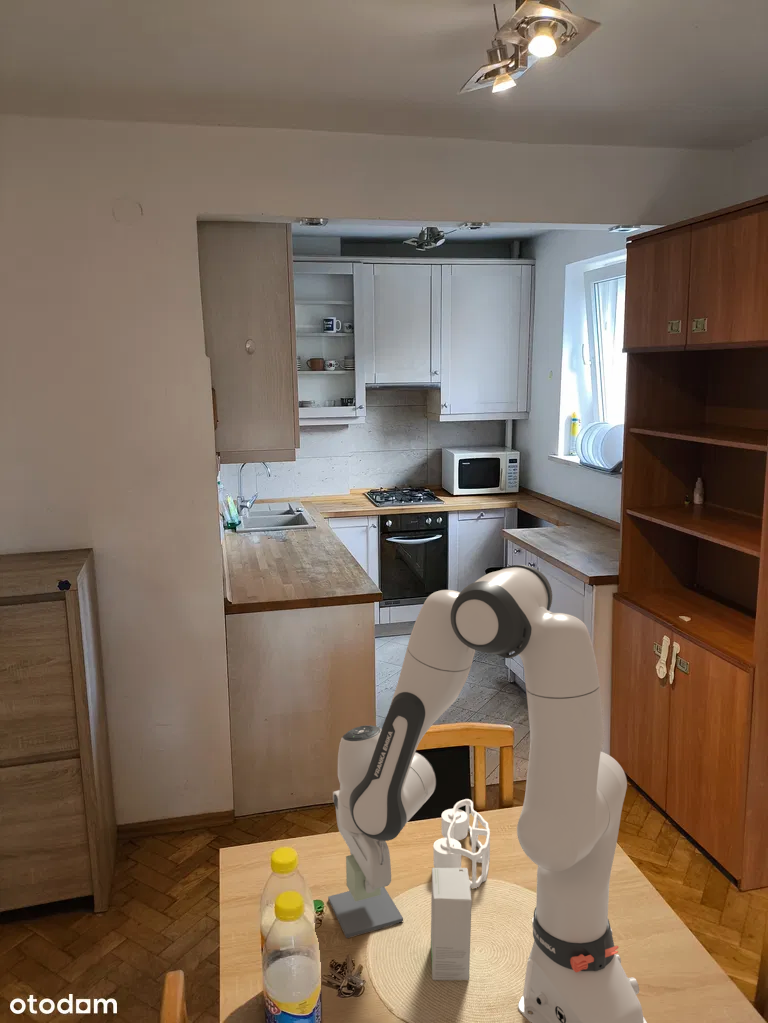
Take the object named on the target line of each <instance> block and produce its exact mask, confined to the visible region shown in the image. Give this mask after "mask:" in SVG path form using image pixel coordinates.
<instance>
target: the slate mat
mask: <svg viewBox="0 0 768 1023" xmlns="http://www.w3.org/2000/svg"><path fill="white" fill-rule="evenodd" d="M327 898H328V903H329V905H330V907H331V909H332V911H333V913H334V915H335V917H336V920H337V921H338V923H339V925H340V928H341V930H342V932H343V934H344V936H345V938H346V939H348V938H352V937H355V936H356V937H357V936H359V935H363V934H366V933H369V932H374V931H376V930H380V929H384V928H387V927H391V926H394V925H397V924H396V923H398V924H400V923H399V922H402V921H403V922H404V917H403V915H402V914H401V912H400V910H399V909H398V907H397V905H396V904H395V902H394V900H393V898H392V897H391V895H390V894H389V892H388V891H387V888H386V886H385V887H381V895H378V896H374V897H371V898H367V899H363V900H359V901H355V900H354V898H353V896H352V894H351V893H350V891H349V890H347V891H343V892H339V893H336V894H332V895H329V896H328V897H327ZM403 922H402V923H403Z"/></svg>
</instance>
